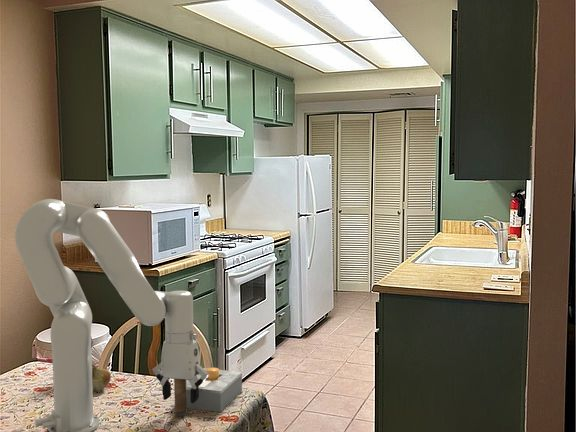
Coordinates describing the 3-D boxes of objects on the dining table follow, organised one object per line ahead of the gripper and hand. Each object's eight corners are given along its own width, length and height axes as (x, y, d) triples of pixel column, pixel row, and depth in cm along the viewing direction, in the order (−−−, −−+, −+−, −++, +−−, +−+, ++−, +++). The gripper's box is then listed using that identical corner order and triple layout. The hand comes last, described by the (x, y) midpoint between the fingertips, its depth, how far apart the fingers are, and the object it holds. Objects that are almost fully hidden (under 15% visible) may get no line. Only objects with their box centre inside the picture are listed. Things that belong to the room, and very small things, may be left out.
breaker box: (220, 412, 163) (220, 390, 162) (175, 406, 167) (175, 385, 166) (241, 391, 178) (241, 371, 178) (200, 386, 182) (199, 367, 182)
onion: (102, 395, 175) (101, 369, 174) (78, 393, 177) (77, 367, 176) (115, 386, 182) (115, 361, 181) (93, 384, 184) (92, 359, 184)
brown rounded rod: (177, 418, 158) (177, 375, 158) (172, 414, 161) (172, 372, 160) (188, 415, 160) (187, 373, 159) (183, 411, 163) (182, 369, 162)
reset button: (215, 386, 172) (215, 372, 171) (203, 384, 173) (203, 371, 172) (221, 381, 175) (221, 368, 175) (209, 379, 177) (209, 367, 176)
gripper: (214, 335, 160) (215, 398, 161) (158, 330, 165) (159, 391, 167) (202, 343, 153) (203, 408, 154) (143, 337, 158) (145, 401, 159)
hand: (180, 399), depth 160 cm, fingers open, 7 cm apart
